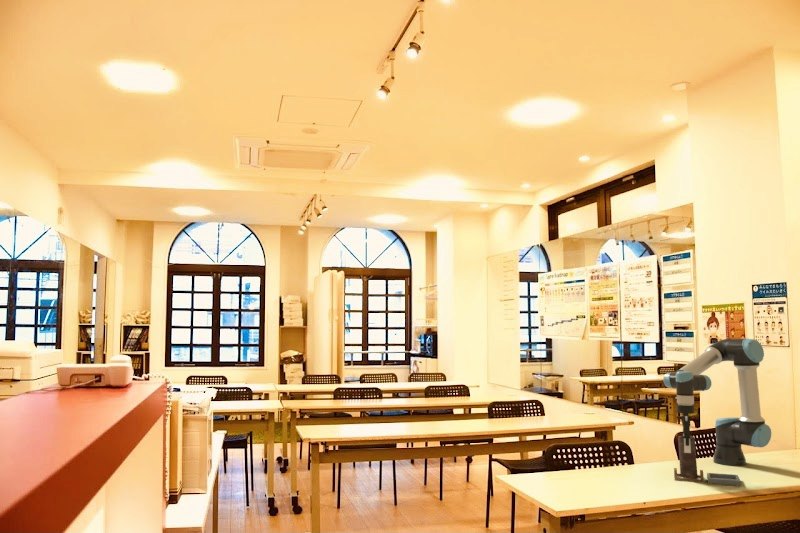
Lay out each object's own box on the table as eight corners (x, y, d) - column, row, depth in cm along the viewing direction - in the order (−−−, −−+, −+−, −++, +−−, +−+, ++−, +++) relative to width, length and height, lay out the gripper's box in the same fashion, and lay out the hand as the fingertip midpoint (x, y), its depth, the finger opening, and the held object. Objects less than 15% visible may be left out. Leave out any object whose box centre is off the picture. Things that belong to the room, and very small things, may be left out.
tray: (706, 477, 303) (706, 472, 303) (737, 480, 298) (737, 474, 298) (708, 484, 291) (708, 478, 291) (740, 486, 286) (740, 481, 286)
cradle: (674, 475, 308) (673, 466, 308) (702, 477, 303) (702, 468, 303) (674, 480, 298) (674, 471, 299) (704, 482, 293) (703, 473, 294)
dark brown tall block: (679, 479, 299) (677, 436, 301) (680, 476, 306) (678, 433, 307) (697, 481, 296) (695, 437, 297) (698, 478, 302) (696, 434, 304)
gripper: (676, 401, 317) (677, 445, 315) (677, 406, 294) (679, 454, 292) (692, 402, 314) (694, 446, 312) (695, 407, 291) (697, 455, 289)
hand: (687, 450), depth 302 cm, fingers open, 13 cm apart
